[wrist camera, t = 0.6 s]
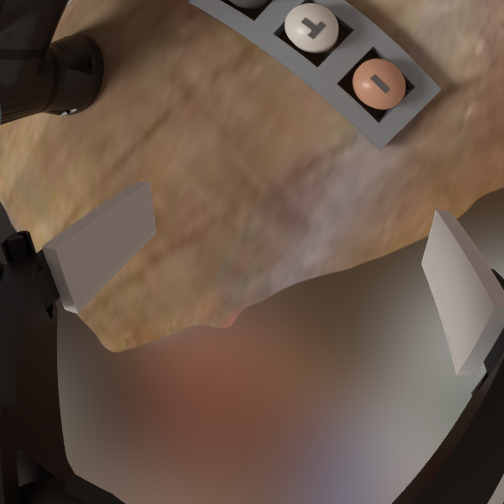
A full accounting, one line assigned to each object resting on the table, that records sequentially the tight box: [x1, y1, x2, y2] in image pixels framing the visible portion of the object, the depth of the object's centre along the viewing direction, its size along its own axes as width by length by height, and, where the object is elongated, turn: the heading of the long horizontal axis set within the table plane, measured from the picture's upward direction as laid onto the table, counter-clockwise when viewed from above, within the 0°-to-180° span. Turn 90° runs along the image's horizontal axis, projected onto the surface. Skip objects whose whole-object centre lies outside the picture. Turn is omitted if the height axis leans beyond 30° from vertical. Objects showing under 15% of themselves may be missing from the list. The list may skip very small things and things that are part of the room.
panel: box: [189, 0, 441, 151], centre depth 32 cm, size 32×12×3 cm, turn 51°
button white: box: [285, 3, 338, 53], centre depth 29 cm, size 6×6×4 cm
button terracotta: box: [352, 59, 406, 109], centre depth 31 cm, size 6×6×4 cm
